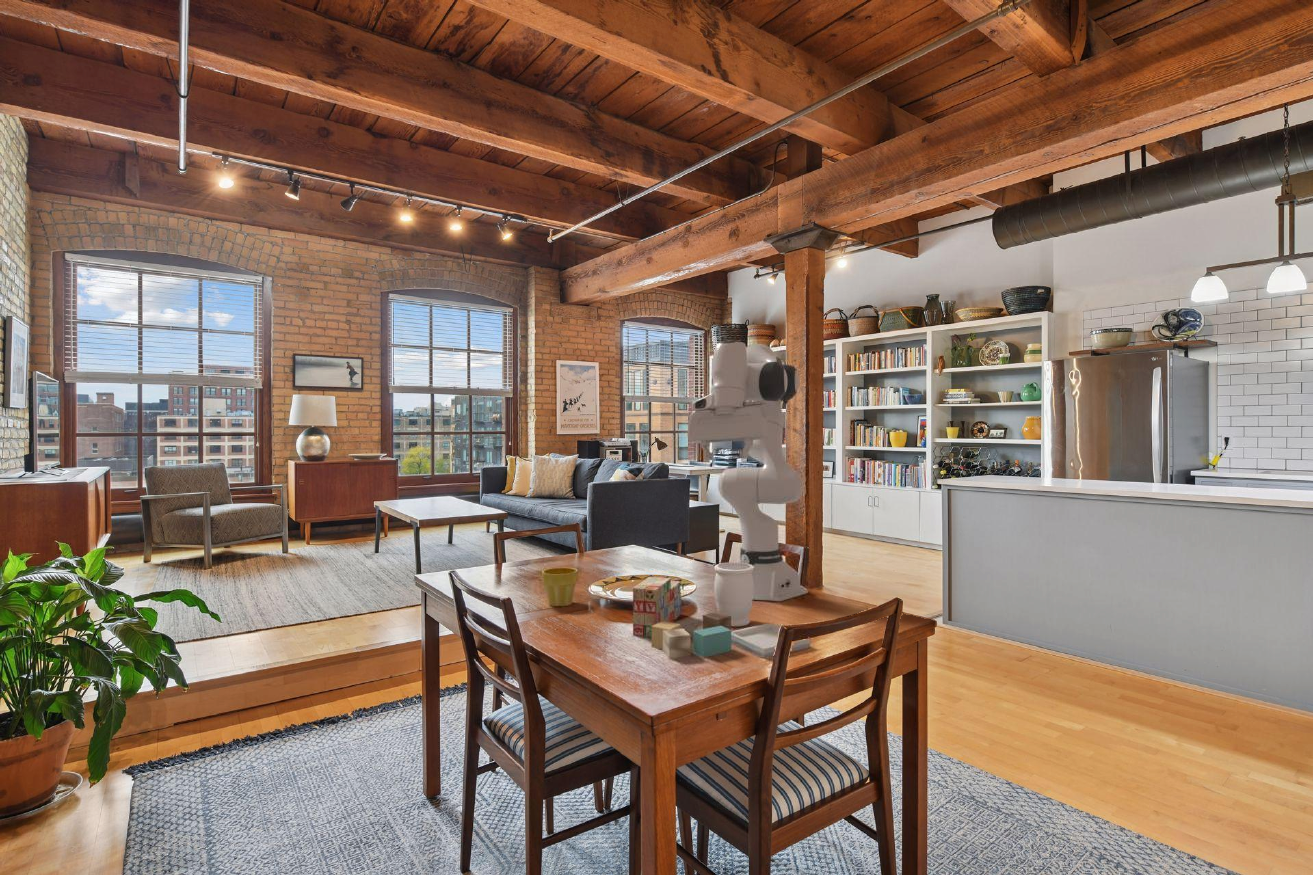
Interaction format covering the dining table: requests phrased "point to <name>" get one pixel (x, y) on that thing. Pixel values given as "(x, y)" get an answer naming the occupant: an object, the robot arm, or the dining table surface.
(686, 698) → the dining table surface
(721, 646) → the teal brick
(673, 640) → the maple cube
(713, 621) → the walnut cube
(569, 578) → the plant pot
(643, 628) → the stack of blocks
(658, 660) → the dining table surface
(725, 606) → the jar
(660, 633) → the ochre cube
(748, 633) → the tray
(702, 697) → the dining table surface
